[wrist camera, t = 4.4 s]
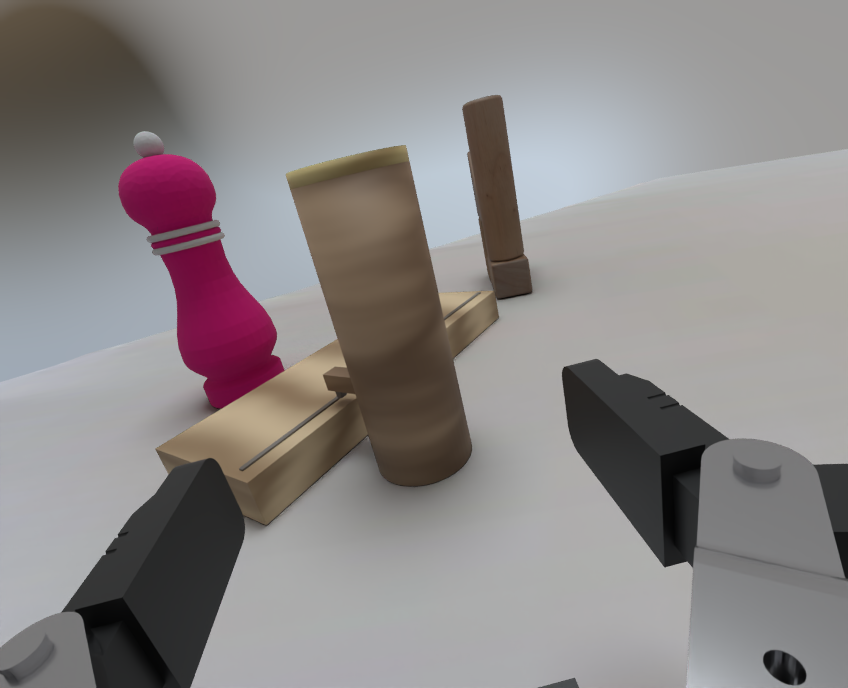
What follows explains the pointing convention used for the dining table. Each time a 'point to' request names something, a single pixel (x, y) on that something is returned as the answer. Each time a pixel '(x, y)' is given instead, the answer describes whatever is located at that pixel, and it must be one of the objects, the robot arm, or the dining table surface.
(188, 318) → the pepper mill
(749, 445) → the robot arm
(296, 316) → the dining table surface
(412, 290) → the wooden cylinder yellow top
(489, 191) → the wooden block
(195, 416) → the dining table surface
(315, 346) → the dining table surface
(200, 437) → the board
